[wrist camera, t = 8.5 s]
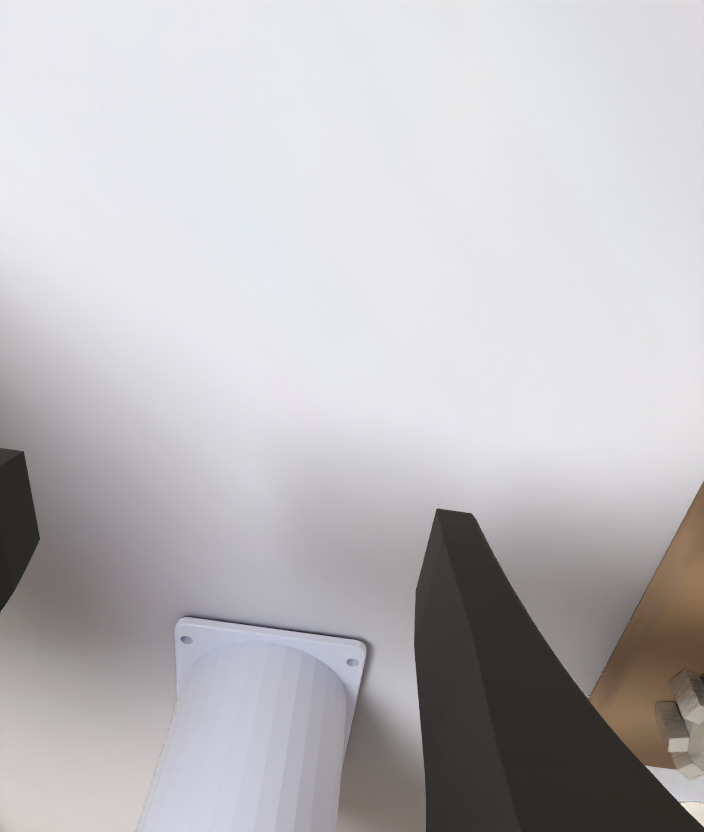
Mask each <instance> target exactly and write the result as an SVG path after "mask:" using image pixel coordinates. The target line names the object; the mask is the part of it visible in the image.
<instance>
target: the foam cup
mask: <svg viewBox="0 0 704 832" xmlns="http://www.w3.org/2000/svg"><path fill="white" fill-rule="evenodd" d="M680 804H681V805H682V806H683V807H684V808H685V809H686V810H687V811H688V812H689V813H690V814H691V815H692V816H693V817H694V818H695V819H696V820H697V821H698V822H699V823H700V824H701V825H702V826H703V827H704V803H699V802H681V803H680Z"/></svg>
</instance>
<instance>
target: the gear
mask: <svg viewBox="0 0 704 832" xmlns="http://www.w3.org/2000/svg"><path fill="white" fill-rule="evenodd" d="M669 684H670V687H671V689H672V692H673V694H674V697H675V699H676V702H675V701H674V702H656V708H655V718H656V721H657V724H658V726H659V729H660V732H661V735H662V737H663V740H664V743H665V746H666V748H667V751H668V752H670V753H671V755H672V758H673V761H674V764H675V766H676V769H677V770H678V771H679V772H680V773H682V774H683V775H684V776H685V777H687V778H688V779H689V780H690V779H693V778H695V777H698V776H700V775H703V774H704V674H702V675H698V674H696V673H693V672H691V671H688V670H686V669H684V670H683V671H682V672H681V673H679V674H678V675H677V676H676V677H674V678H673V679H672V680H671V681H670V682H669Z"/></svg>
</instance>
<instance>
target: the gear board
mask: <svg viewBox="0 0 704 832" xmlns="http://www.w3.org/2000/svg"><path fill="white" fill-rule="evenodd" d="M684 669H686V670H688V671H691V672H693V673H696V674H698V675H702V674H704V482H703V484H702V486H701V488H700V490H699V492H698V493H697V495H696V497H695V499H694V501H693V503H692V505H691V507H690V509H689V510H688V512H687V514H686V516H685V518H684V520H683V522H682V524H681V526H680V527H679V529H678V531H677V533H676V535H675V537H674V539H673V541H672V542H671V544H670V546H669V548H668V550H667V552H666V554H665V556H664V558H663V559H662V561H661V563H660V565H659V567H658V569H657V571H656V573H655V575H654V576H653V578H652V580H651V582H650V584H649V586H648V588H647V590H646V592H645V593H644V595H643V597H642V599H641V601H640V603H639V605H638V607H637V609H636V610H635V612H634V614H633V616H632V618H631V620H630V622H629V624H628V626H627V627H626V629H625V631H624V633H623V635H622V637H621V639H620V641H619V643H618V644H617V646H616V648H615V650H614V652H613V654H612V656H611V658H610V660H609V661H608V663H607V665H606V667H605V669H604V671H603V673H602V675H601V677H600V678H599V680H598V682H597V684H596V686H595V688H594V690H593V692H592V694H591V695H590V697H589V699H588V700H589V701H590V703H591V704H592V705H593V706H594V708H595V709H596V710H597V711H598V713H599V714H600V715H601V716H602V718H603V719H604V720H605V721H606V722H607V724H608V725H609V726H610V727H611V728H612V730H613V731H614V732H615V733H616V734H617V736H618V737H619V738H620V739H621V740H622V741H623V743H624V744H625V745H626V746H627V747H628V748H629V749H630V750H631V751H632V752H633V754H634V755H635V756H636V757H637V758H638V759H639V760H640V761H641V762H642V763H643V764H644V765H646V766H654V767H661V768H668V769H676V766H675V764H674V761H673V758H672V755H671V753H670V752H668V751H667V748H666V746H665V743H664V740H663V737H662V735H661V732H660V729H659V726H658V724H657V721H656V718H655V708H656V702H674V701H675V702H676V699H675V697H674V694H673V692H672V689H671V687H670V684H669V682H670V681H671V680H672V679H673V678H674V677H676V676H677V675H678V674H679V673H681V672H682V671H683V670H684ZM676 770H677V769H676Z"/></svg>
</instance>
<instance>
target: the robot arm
mask: <svg viewBox="0 0 704 832" xmlns="http://www.w3.org/2000/svg"><path fill="white" fill-rule="evenodd" d="M39 540H40V537H39V531H38V526H37V521H36V515H35V510H34V504H33V499H32V494H31V488H30V483H29V477H28V472H27V466H26V461H25V456H24V451H17V450H10V449H3V448H0V612H1V610H2V609H3V607H4V606H5V604H6V603H7V601H8V600H9V598H10V597H11V595H12V594H13V592H14V591H15V589H16V587H17V585H18V583H19V581H20V579H21V577H22V575H23V573H24V571H25V569H26V567H27V565H28V563H29V561H30V559H31V557H32V555H33V553H34V551H35V548H36V546H37V544H38V542H39ZM174 630H175V657H176V685H177V705H176V708H175V711H174V714H173V717H172V720H171V723H170V726H169V729H168V732H167V735H166V738H165V741H164V745H163V748H162V751H161V754H160V757H159V760H158V763H157V766H156V769H155V772H154V775H153V778H152V781H151V784H150V787H149V791H148V794H147V797H146V800H145V803H144V806H143V809H142V812H141V815H140V818H139V821H138V824H137V827H136V830H135V832H337V821H338V809H339V796H340V783H341V771H342V768H343V763H344V758H345V754H346V749H347V744H348V739H349V735H350V730H351V725H352V720H353V716H354V711H355V706H356V701H357V697H358V692H359V687H360V682H361V678H362V673H363V668H364V664H365V659H366V646H365V644H364V643H362V642H361V641H358V640H353V639H345V638H338V637H331V636H323V635H316V634H309V633H301V632H294V631H287V630H279V629H272V628H265V627H257V626H250V625H243V624H235V623H228V622H221V621H213V620H206V619H199V618H191V617H183V618H180V619H179V620H178V621H177V623H176V626H175V629H174ZM414 648H415V661H416V674H417V686H418V698H419V709H420V721H421V733H422V744H423V756H424V768H425V786H426V832H704V827H703V826H702V825H701V824H700V823H699V822H698V821H697V820H696V819H695V818H694V817H693V816H692V815H691V814H690V813H689V812H688V811H687V810H686V809H685V808H684V807H683V806H682V805H681V804H680V803H679V802H678V801H677V800H676V799H675V798H674V797H673V796H672V795H671V794H670V793H669V791H668V790H667V789H666V788H665V787H664V786H663V785H662V784H661V783H660V782H659V781H658V780H657V778H656V777H655V776H654V775H653V774H652V773H651V772H650V771H649V770H648V769H647V768H646V767H645V765H644V764H643V763H642V762H641V761H640V760H639V759H638V758H637V757H636V756H635V755H634V754H633V752H632V751H631V750H630V749H629V748H628V747H627V746H626V745H625V744H624V743H623V741H622V740H621V739H620V738H619V737H618V736H617V734H616V733H615V732H614V731H613V730H612V728H611V727H610V726H609V725H608V724H607V722H606V721H605V720H604V719H603V718H602V716H601V715H600V714H599V713H598V711H597V710H596V709H595V708H594V706H593V705H592V704H591V703H590V701H589V700H588V699H587V697H586V696H585V695H584V694H583V692H582V691H581V690H580V688H579V687H578V686H577V684H576V683H575V682H574V680H573V679H572V678H571V676H570V675H569V674H568V672H567V671H566V669H565V668H564V667H563V665H562V664H561V663H560V661H559V660H558V658H557V657H556V655H555V654H554V652H553V651H552V649H551V648H550V646H549V645H548V644H547V642H546V641H545V639H544V638H543V636H542V635H541V633H540V632H539V630H538V628H537V627H536V625H535V624H534V622H533V621H532V619H531V618H530V616H529V614H528V613H527V611H526V609H525V608H524V606H523V604H522V603H521V601H520V599H519V598H518V596H517V595H516V593H515V591H514V590H513V588H512V586H511V584H510V583H509V581H508V579H507V577H506V576H505V574H504V572H503V570H502V568H501V567H500V565H499V563H498V561H497V559H496V558H495V556H494V554H493V552H492V550H491V548H490V546H489V544H488V542H487V540H486V538H485V536H484V534H483V532H482V530H481V528H480V526H479V524H478V522H477V520H476V519H475V517H474V516H473V515H472V513H465V512H457V511H450V510H443V509H437V510H436V514H435V518H434V521H433V525H432V529H431V533H430V537H429V541H428V545H427V549H426V553H425V557H424V561H423V565H422V569H421V573H420V577H419V580H418V584H417V588H416V602H415V635H414Z"/></svg>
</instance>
